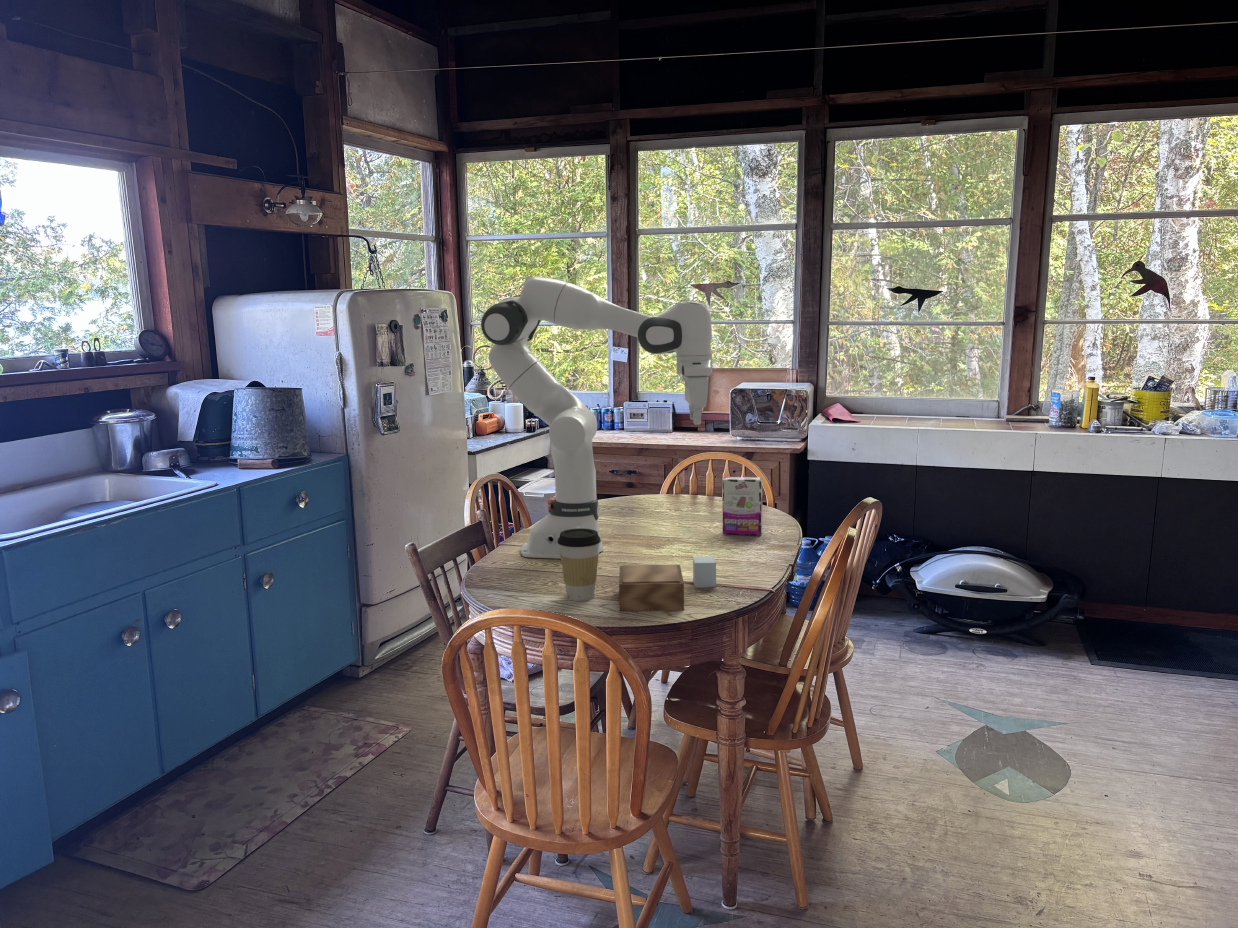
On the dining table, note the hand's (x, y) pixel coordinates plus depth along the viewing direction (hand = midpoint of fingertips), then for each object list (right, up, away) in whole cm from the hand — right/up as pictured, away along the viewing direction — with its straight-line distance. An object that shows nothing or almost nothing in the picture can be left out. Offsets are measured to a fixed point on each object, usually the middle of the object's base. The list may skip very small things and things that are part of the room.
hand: (695, 422), depth 216 cm
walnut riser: (-12, -41, -22) cm, 48 cm away
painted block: (+1, -39, -12) cm, 41 cm away
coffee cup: (-28, -41, -19) cm, 53 cm away
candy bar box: (+17, -31, +33) cm, 48 cm away
